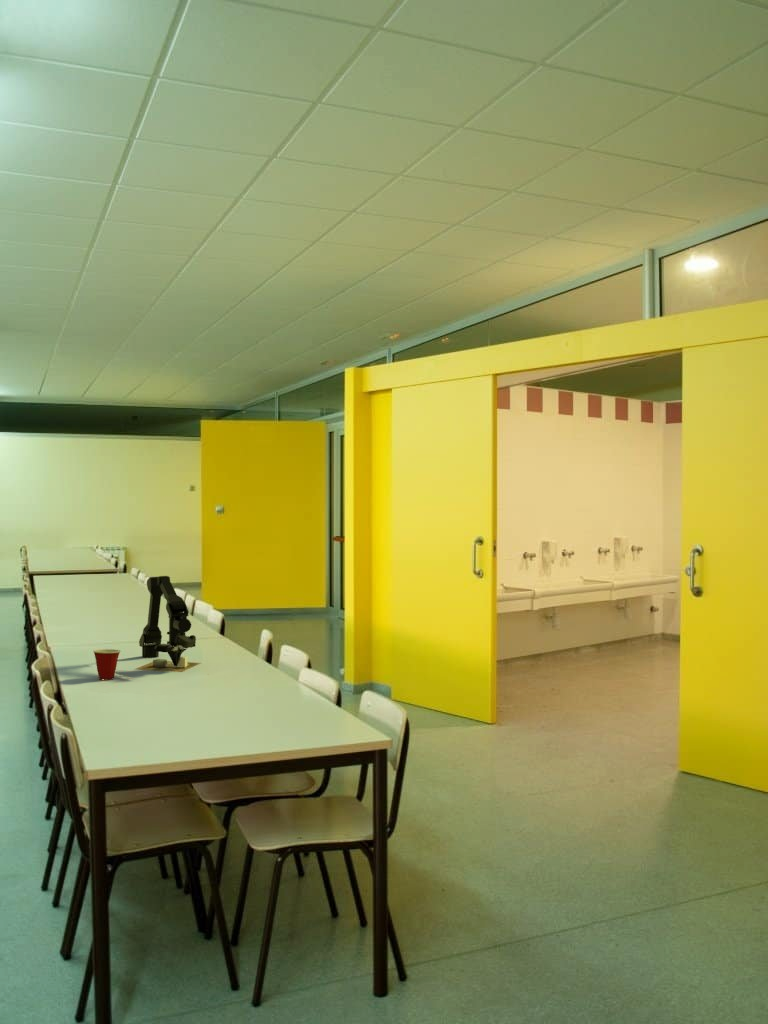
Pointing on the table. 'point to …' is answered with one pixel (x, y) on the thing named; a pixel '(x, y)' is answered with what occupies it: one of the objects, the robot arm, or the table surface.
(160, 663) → the peg lever
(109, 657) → the plastic cup
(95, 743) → the table surface
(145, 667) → the brown flat wooden board
